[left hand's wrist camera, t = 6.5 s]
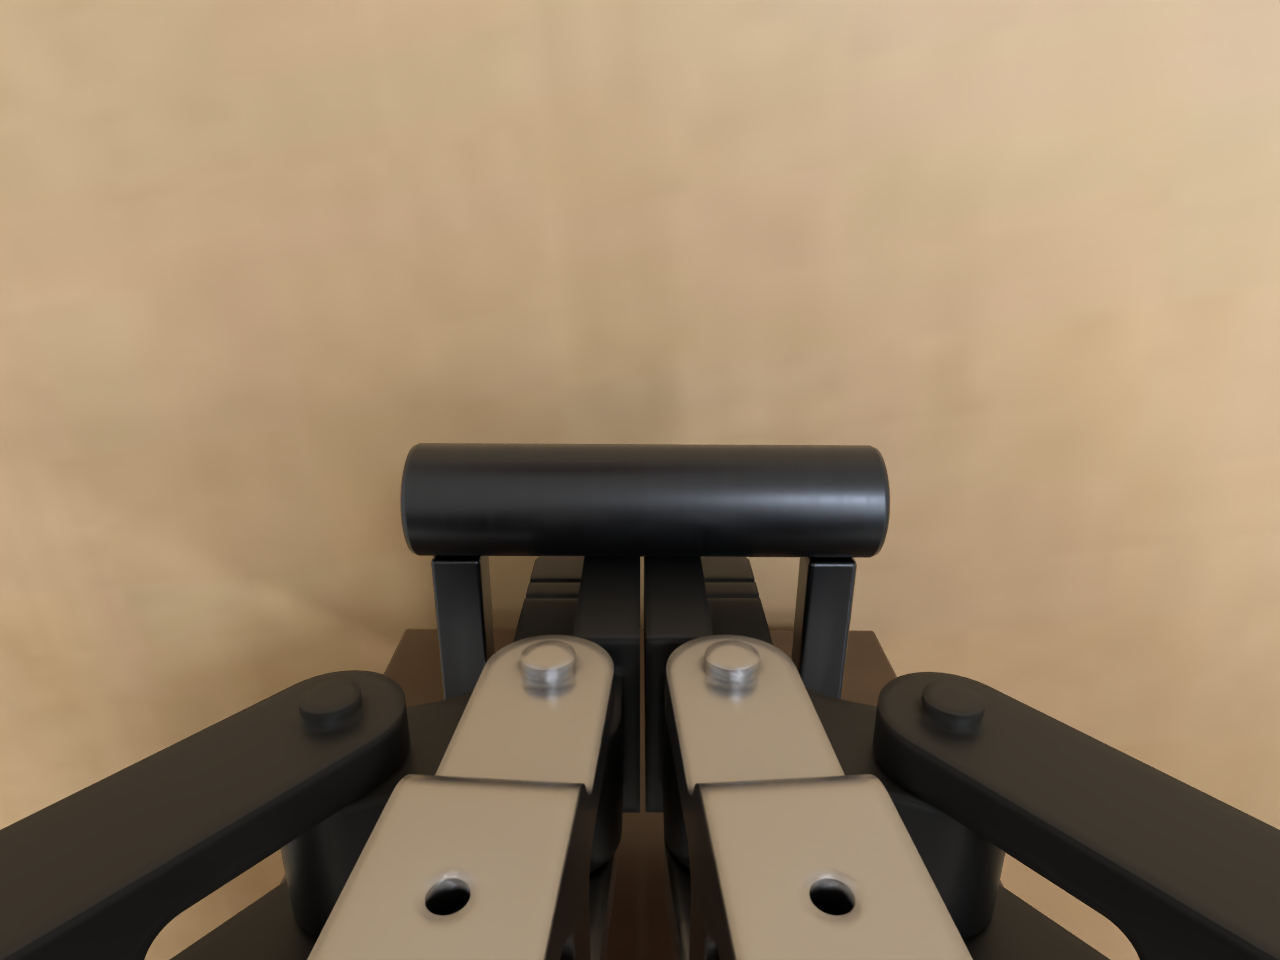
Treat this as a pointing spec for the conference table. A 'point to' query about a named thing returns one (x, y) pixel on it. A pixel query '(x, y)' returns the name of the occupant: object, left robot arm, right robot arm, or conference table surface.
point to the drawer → (642, 526)
